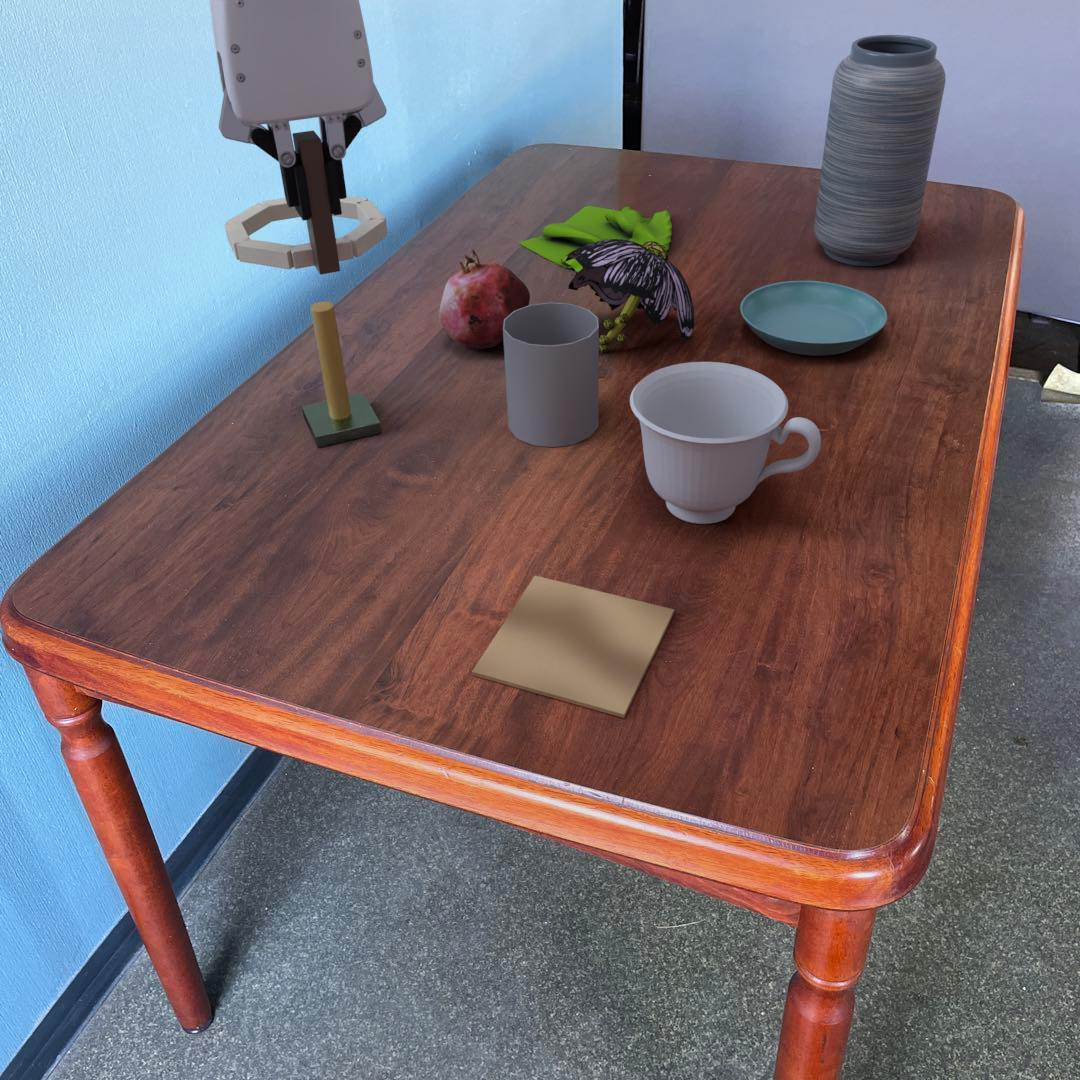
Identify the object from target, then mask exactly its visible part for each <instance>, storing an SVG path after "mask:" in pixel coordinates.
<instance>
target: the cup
mask: <svg viewBox="0 0 1080 1080" xmlns="http://www.w3.org/2000/svg"><path fill="white" fill-rule="evenodd" d="M599 329H600V327H599V317H598V316H597V315H596V314H594V313H593V312H592V311H591V310H590V309H588V308H585V307H582V306H579V305H577V304H574V303H564V302H553V301H552V302H551V301H550V302H543V303H533V304H529V306H526V307H523V308H521V309H518V310H515V311H513V312H512V313H511V314H510V315H509V316H508V317H506V318H505V319H504V323H503V340H504V341H503V354H504V369H505V371H504V375H505V389H506V408H507V424H508V425H507V426H508V427H507V428H508V431H510V433H511V434H512V435H513V436H514V437H515V438H516V439H517V440H518V441H521V442H524V443H526V444H529V445H530V446H536V447H545V448H558V447H565V446H566V447H567V446H573V445H576V444H578V443H580V442H583V441H585V440H587V439H589V438H591V437H592V436H593V434H594V433H595V432H596V431H597V429H598V428H599V381H600V380H599V372H600V371H599V370H600V369H599V367H600V365H599V363H600V362H599V361H600V359H599V353H600V352H599V351H600V350H599V344H600V343H599V337H600V335H599V331H600V330H599Z"/></svg>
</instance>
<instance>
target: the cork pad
mask: <svg viewBox="0 0 1080 1080" xmlns="http://www.w3.org/2000/svg"><path fill="white" fill-rule="evenodd" d="M675 611H676V610H675V609H674V608H670V607H666V606H662V605H658V604H654V603H649V602H646V601H641V600H637V599H634V598H629V597H626V596H621V595H616V594H612V593H610V592H609V593H608V592H604V591H600V590H597V589H593V588H589V587H584V586H580V585H577V584H572V583H568V582H564V581H559V580H556V579H551V578H547V577H543V576H539V575H533V578H532V579H531V581H529V584H528V585H527V587H526V588H525V589H524V591H523V593H522V594H521V596H519V599H518V601H517V602H516V603H515V605H514V607H513V608H512V609H511V611H510V612H509V614H508V616H507V617H506V619H505V621H504V622H503V624H502V625H501V626H500V628H499V630H498V631H497V632H496V634H495V635H494V637H493V639H492V640H491V642H490V643H489V645H488V646H487V648H486V649H485V650H484V652H483V654H482V655H481V657H480V658H479V660H478V661H477V662H476V665H475V666H474V667H473V669H472V671H471V675H472V676H474V677H476V678H481V679H484V680H488V681H490V682H493V683H494V682H495V683H498V684H501V685H505V686H509V687H512V688H515V689H519V690H522V691H527V692H530V693H532V694H536V695H541V696H544V697H548V698H551V699H555V700H559V701H562V702H564V703H568V704H572V705H577V706H580V707H583V708H586V709H590V710H593V711H597V712H601V713H604V714H608V715H611V716H615V717H619V718H621V719H625V718H626V716H627V713H628V712H629V709H630V707H631V706H632V703H633V701H634V699H635V697H636V694H637V693H638V690H639V689H640V686H641V685H642V683H643V680H644V677H645V676H646V674H647V672H648V670H649V668H650V665H651V664H652V661H653V659H654V657H655V655H656V653H657V651H658V649H659V647H660V645H661V642H662V641H663V639H664V637H665V634H666V632H667V630H668V627H669V625H670V623H671V622H672V619H673V617H674V615H675Z"/></svg>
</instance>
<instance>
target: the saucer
mask: <svg viewBox="0 0 1080 1080" xmlns="http://www.w3.org/2000/svg"><path fill="white" fill-rule="evenodd" d="M739 312H740V314H741V316H742V319H743V321H744V322H745V323H746V325H747V326H748V327H749V329H750V330H751V331H752V332H753V333H754V334H755V335H756V336H757V337H758V338H759V339H761V340H762V341H763V342H765V343H766V344H768V345H769V346H771V347H772V348H775V349H778V350H781V351H784V352H787V353H791V354H796V355H800V356H801V355H803V356H815V357H816V356H817V357H818V356H819V357H821V356H822V357H823V356H833V355H834V356H835V355H840V354H844V353H846V352H850V351H852V350H854V349H856V348H858V347H861V345H864V344H865V343H866V342H868V341H869V340H871V339H872V338H874V337H875V336H876V335H877V334H878V333H879V332H880V331H881V330H882V329H883V328H885V327H884V326H886V324H887V322H888V312H887V310H886V307H884V305H883V304H882V303H881V302H880V301H879V300H877V299H876V298H875V297H873V296H872V295H870V294H867V293H866V292H864V291H862V290H859V289H856V288H854V287H850V286H848V285H843V284H840V283H839V284H838V283H833V282H828V281H822V280H821V281H820V280H786V281H779V282H775V283H770V284H765V285H763V286H760V287H758V288H756V289H754V290H752V291H751V292H749V293H748V294H746V295H745V297H743V299H742V300H741V301H740V304H739Z"/></svg>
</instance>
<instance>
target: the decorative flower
mask: <svg viewBox="0 0 1080 1080" xmlns="http://www.w3.org/2000/svg"><path fill="white" fill-rule="evenodd" d="M566 256H568V257H567V259H566V260H565V261H568V260H571V259H574V258H575V259H576V261H577V262H578V263H579V264H580V265H582V267H583V268H582V269H581V270H580V271H579V272H576V274H575V275H574V276H573V278H572V279H571V280H570V282H569V284H568V286H567V290H573V291H578V290H579V289H581V288H583V287H587V286H589V288H590V290H592V291H594V292H595V293H594V296H596V297H597V298H598V297H599V300H598V301H599V302H601V303H602V302H603V303H607V305H608V307H610V311H611V312H613V311H615V310H616V309H617V308H619V307H620V306H622V305H623V304H624V303H625V305H624V306H623V309H622V310H621V312H620V314H619V316H616V317H615V319H614V320H613V319H610V318H609V319H608V318H607V319H605V320H604V322H603V326H604V328H605V330H609V331H608V333H607V334H601V335H599V351H600V352H601V353H607V352H609V349H610V345H609V342H610V341H612V340H613V339H614V338H615V337H616V341H617V343H618V344H619V345H623V344H625V343H627V341H628V336H627V334H626V333H620V332H621V331H623V329H624V328H625V327H626V326H627V324H628V322H629V321H630V319H631V317H632V316H633V314H634V313H635V311H636V310H638V311H639V310H643V314H644V315H645V316H646V317H647V318H649V320H650V321H651V322H652V323H653V324H654V326H659V325H661V324H662V323H664V322H665V321H666V319H667V318H668V316H669V314H670V311H671V310H672V308H673V309H674V311H676V317H677V324H678V331H679V335H680V337H681V339H682V341H684V340H689V339H691V338H692V334H693V333H692V332H693V331H694V328H695V310H694V309H695V308H694V303H693V297H692V294H691V291H690V288H689V286H688V284H687V281H686V279H685V278H684V276H683V274H682V273H681V271H680V270H679V269H678V268H677V267H676V266H675V265H674V264H673V263H672V262H671V261H669V254H668V250H667V251H666V248H665V247H664V246H662V245H661V244H659V243H657V242H655V241H654V242H652V241H648V242H645V243H644V244H642V245H640V244H638V243H636V242H633V241H628V240H621V239H609V240H602V241H598V242H594V243H590V244H588V245H585V246H583V247H580V248H578V249H576V250H574V251H572V252H571V253H569V254H568V255H566ZM565 261H564V262H565Z"/></svg>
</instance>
